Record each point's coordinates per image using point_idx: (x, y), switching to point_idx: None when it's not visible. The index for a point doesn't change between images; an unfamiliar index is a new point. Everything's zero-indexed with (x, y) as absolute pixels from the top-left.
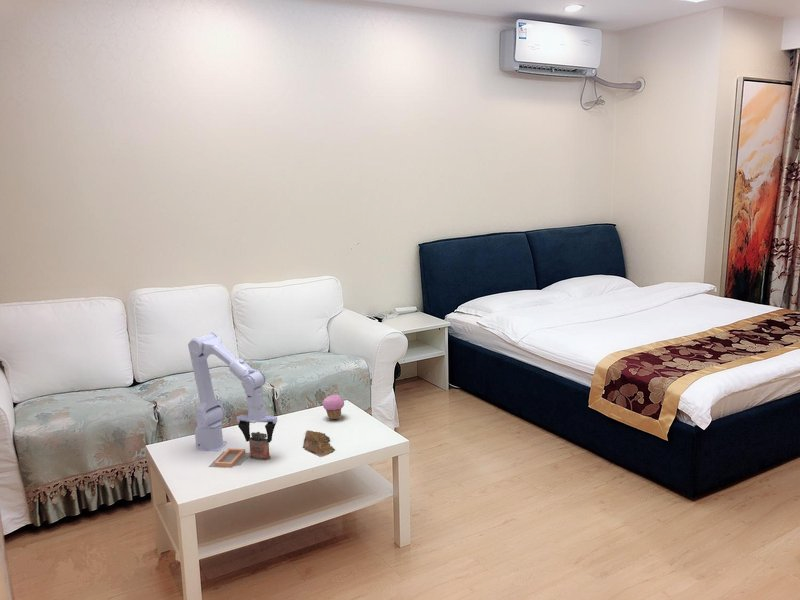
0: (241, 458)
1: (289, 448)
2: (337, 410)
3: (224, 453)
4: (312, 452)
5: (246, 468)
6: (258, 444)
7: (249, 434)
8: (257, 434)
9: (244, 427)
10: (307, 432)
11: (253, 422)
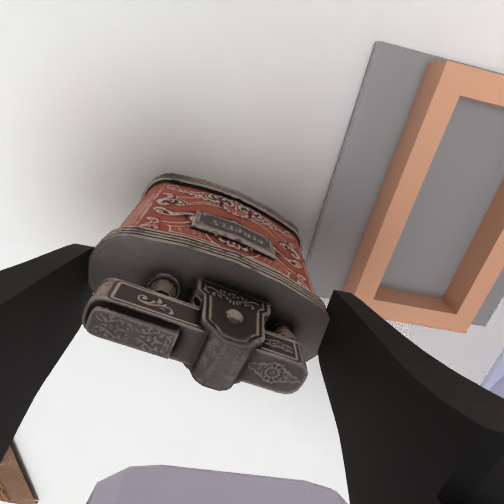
0: (361, 218)
1: None
2: None
3: (498, 262)
4: None
5: (304, 59)
6: (211, 242)
7: (329, 376)
8: (212, 331)
9: (445, 415)
10: (20, 488)
11: (177, 492)
